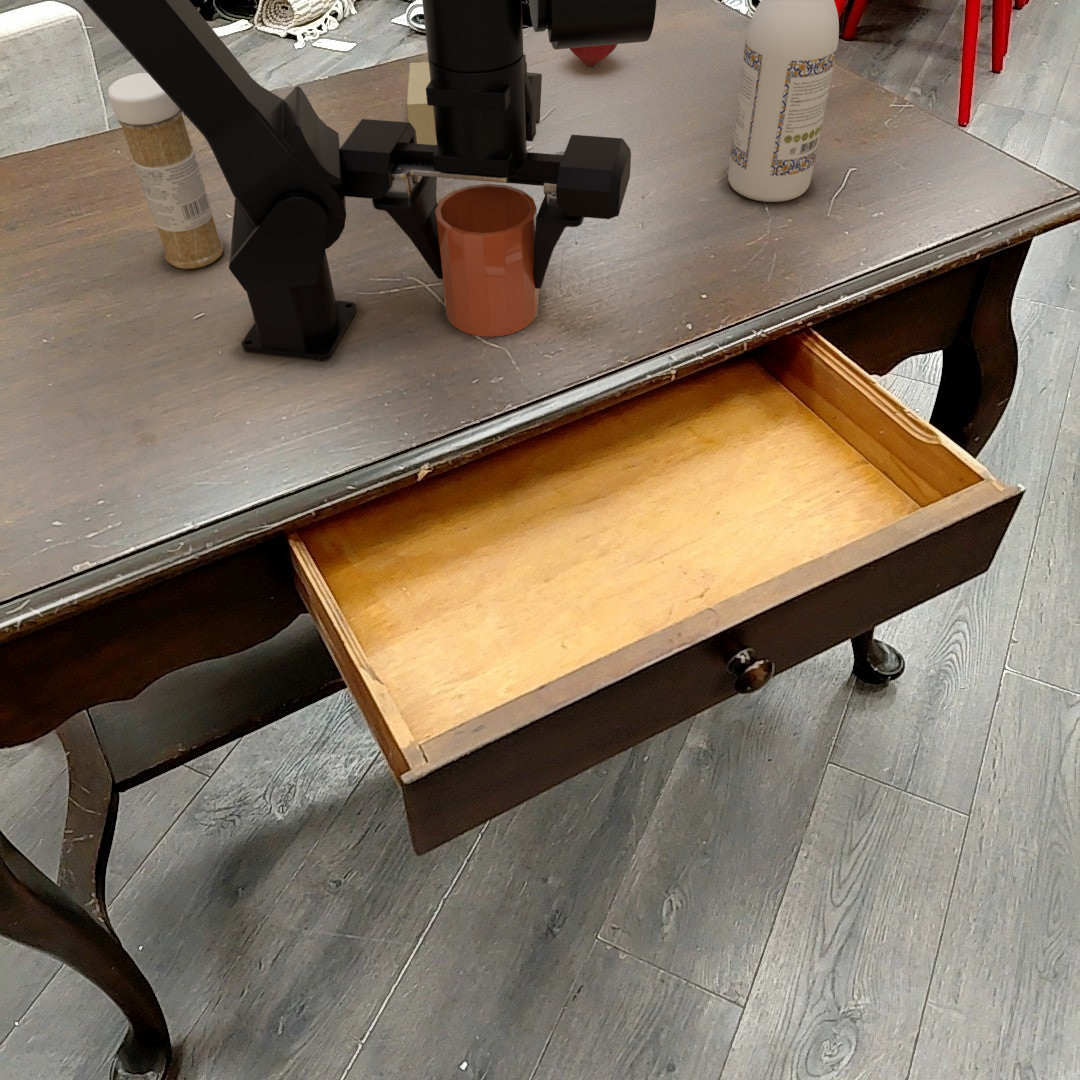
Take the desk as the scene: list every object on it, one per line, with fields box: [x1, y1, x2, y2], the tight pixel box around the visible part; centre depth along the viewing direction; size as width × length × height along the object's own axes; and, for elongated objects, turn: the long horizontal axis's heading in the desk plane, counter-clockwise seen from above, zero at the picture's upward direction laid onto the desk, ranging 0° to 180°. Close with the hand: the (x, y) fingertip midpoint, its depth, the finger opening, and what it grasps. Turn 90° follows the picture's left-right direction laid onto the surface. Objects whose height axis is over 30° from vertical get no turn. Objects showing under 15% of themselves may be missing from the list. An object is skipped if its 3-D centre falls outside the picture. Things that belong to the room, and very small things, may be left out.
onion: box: [569, 44, 618, 68], centre depth 97 cm, size 6×6×8 cm
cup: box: [435, 183, 540, 338], centre depth 68 cm, size 7×7×8 cm
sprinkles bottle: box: [107, 72, 224, 270], centre depth 72 cm, size 5×5×14 cm
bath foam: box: [727, 0, 840, 203], centre depth 75 cm, size 7×7×20 cm
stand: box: [406, 61, 437, 145], centre depth 90 cm, size 9×9×4 cm
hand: (490, 280), depth 69 cm, fingers closed on cup, 7 cm apart
